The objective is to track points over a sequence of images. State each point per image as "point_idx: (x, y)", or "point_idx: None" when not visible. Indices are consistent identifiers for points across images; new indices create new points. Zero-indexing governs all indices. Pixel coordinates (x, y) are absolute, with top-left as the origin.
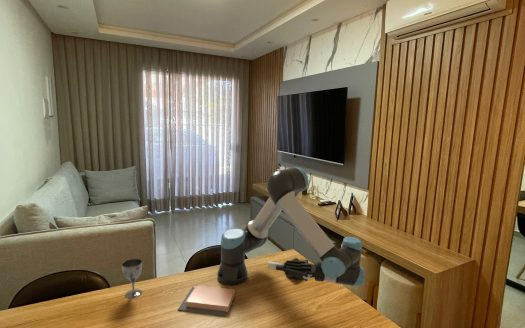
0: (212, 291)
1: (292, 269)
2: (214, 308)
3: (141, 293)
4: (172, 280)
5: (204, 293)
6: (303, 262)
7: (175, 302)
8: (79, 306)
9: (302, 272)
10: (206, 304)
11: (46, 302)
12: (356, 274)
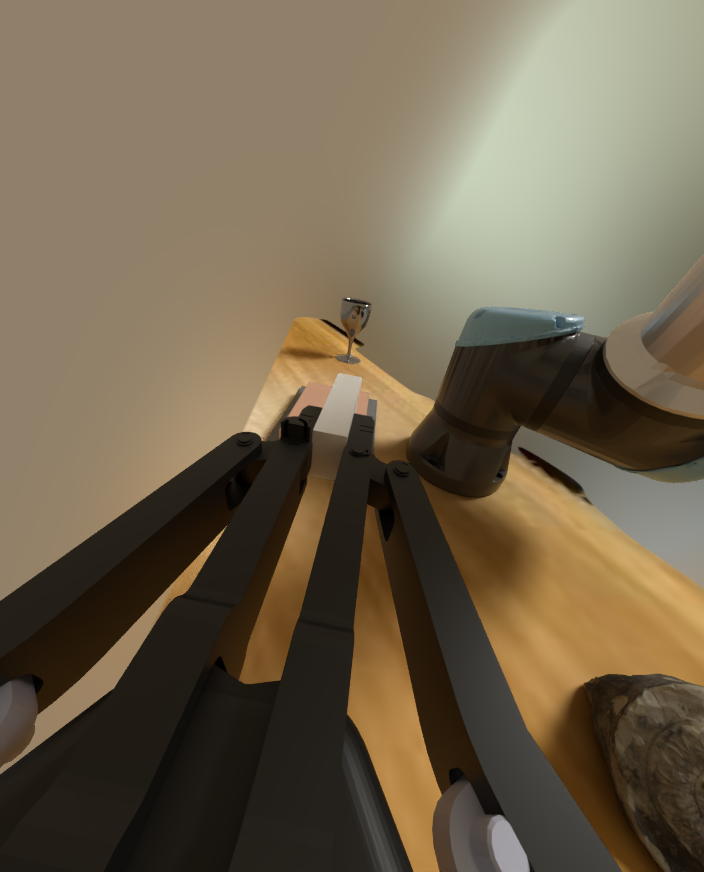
0: None
1: (208, 486)
2: None
3: (349, 362)
4: (395, 384)
5: None
6: (464, 742)
7: None
8: (319, 336)
9: (20, 625)
10: (296, 403)
11: (326, 326)
12: None
